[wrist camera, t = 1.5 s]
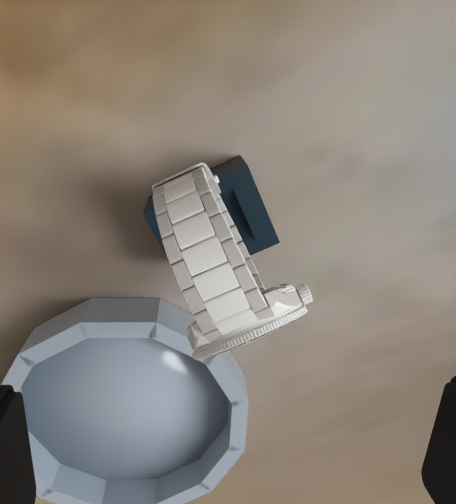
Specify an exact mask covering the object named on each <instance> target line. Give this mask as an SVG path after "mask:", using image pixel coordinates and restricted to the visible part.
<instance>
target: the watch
mask: <svg viewBox="0 0 456 504" xmlns="http://www.w3.org/2000/svg"><path fill="white" fill-rule="evenodd" d="M151 189H152V190H153V195H152V196H150V197H149V198H148V201H147V204H146V207H145V210H144V215H145V217H146V219H147V221H148V223H149V224H150V226H151V228H152V230H153V232H154V234H155V236H156V237H157V239H158V241H159V243H160V245H161V247H162V248H163V250H164V252H165V254H166V256H167V258H168V260H169V263H170V264H171V267H172V270H173V272H174V275H175V278H176V280H177V283H178V285H179V287H180V290H183V291H182V293H183V295H184V298H185V300H186V302H187V304H188V306H189V309H190V311H191V313H192V314H194V318H195V321H193V322H192V323H191V324H190V326H189V327H188V328H187V331H186V332H187V337H188V340H189V342H190V345H191V347H192V349H193V351H194V353H193V354H192V355H193V358H194V360H200V359H204V358H207V357H211V356H215V355H218V354H221V353H224V352H226V351H229V350H232V349H234V348H237V347H239V346H242V345H244V344H247V343H249V342H251V341H254V340H256V339H258V338H261V337H263V336H265V335H267V334H270V333H272V332H274V331H276V330H278V329H280V328H282V327H284V326H286V325H288V324H290V323H291V322H293V321H295V320H296V319H298V318H300V317H301V316H303V315H304V314H305V313H306V312H307V309H306V307H305V306H302V304H301V302H303V304H304V305H305V304H307V303H310V302H312V301H313V299H312V295H311V293H310V291H309V289H308V287H307V285H306V284H302V285H300V286H298V287H296V288H297V291H296V289H295V288H294V287H293V286H292V285H291V284H280V285H277V286H275V287H272V288H270V289H267V290H265V287H264V285H263V283H262V281H261V279H260V277H259V275H258V272H257V270H256V268H255V266H254V264H253V262H252V260H251V258H249V257H250V255H253V254H255V253H257V252H259V251H262V250H264V249H266V248H269V247H271V246H273V245H275V244H278V243H280V242H279V240H278V237H277V235H276V232H275V230H274V228H273V225H272V223H271V220H270V218H269V216H268V213H267V211H266V208H265V206H264V204H263V201H262V199H261V197H260V194H259V192H258V189H257V187H256V185H255V182H254V180H253V177H252V175H251V173H250V170H249V168H248V165H247V164H246V163H245V161H244V160H243V159H242V157H241V156H238V157H235V158H233V159H231V160H229V161H227V162H225V163H222V164H220V165H218V166H216V167H214V168H211V169H209V167H208V166H207V165H206V164H205V163H203V162H201V163H199V164H197V165H194V166H192V167H190V168H187V169H185V170H183V171H181V172H178V173H176V174H174V175H172V176H170V177H168V178H166V179H164V180H161V181H159V182H157V183H155V184H153V185H152V188H151ZM247 258H248V259H247ZM245 259H246V260H245ZM193 285H194V286H193Z"/></svg>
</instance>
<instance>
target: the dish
mask: <svg viewBox="0 0 456 504" xmlns="http://www.w3.org/2000/svg"><path fill="white" fill-rule="evenodd" d="M193 321H195V318H194V315H192V314H190V313H188V312H186V311H184V310H182V309H180V308H178V307H176V306H174V305H172V304H170V303H168V302H166V301H164V300H162V299H160V298H90V299H89V300H87V301H85V302H83V303H81V304H79V305H77V306H75V307H73V308H71V309H69V310H67V311H65V312H63V313H61V314H59V315H57V316H56V317H54V318H52V319H50V320H48V321H46V322H44V323H42V324H40V325H38V326H36V327H35V328H34V330H33V331H32V333H31V334H30V336H29V337H28V339H27V341H26V342H25V344H24V345H23V347H22V349H21V350H20V352H19V353H18V355H17V357H16V359H15V360H14V362H13V364H12V366H11V368H10V369H9V371H8V373H7V375H6V377H5V378H4V380H3V382H2V384H1V385H12V387H13V388H14V392H21V393H22V396H23V401H24V408H25V414H26V421H27V428H28V434H29V441H30V448H31V455H32V461H33V468H34V475H35V481H36V495H37V496H39V497H40V498H41V499H44V500H47V501H50V502H53V503H56V504H184V503H186V502H188V501H191V500H193V499H195V498H197V497H200V496H202V495H204V494H206V493H209V492H211V491H212V490H213V489H214V487H215V486H216V485H217V484H218V483H219V481H220V480H221V479H222V478H223V476H224V475H225V474H226V473H227V472H228V470H229V469H230V468H231V467H232V466H233V464H234V463H235V462H236V461H237V459H238V458H239V457H240V456H241V455H242V453H243V452H244V451H245V440H246V428H247V417H248V405H249V399H248V394H247V388H246V383H245V378H244V373H243V370H242V369H241V367H240V365H239V364H238V362H237V361H236V359H235V357H234V356H233V354H232V353H231V351H230V350H229V351H226V352H224V353H221V354H218V355H215V356H211V357H207V358H204V359H200V360H194V358H193V355H192V354H193V353H194V351H193V349H192V347H191V345H190V342H189V340H188V337H187V332H186V331H187V328H188V327H189V326H190V324H191V323H192V322H193Z"/></svg>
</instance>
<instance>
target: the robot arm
mask: <svg viewBox="0 0 456 504" xmlns="http://www.w3.org/2000/svg"><path fill="white" fill-rule="evenodd" d="M421 473H422V480H423V483H424V486H425V488H426V489H427V491H428V493H429V494H430V496H431V498H432V499H433V501H434V503H435V504H456V376H454V377H453V378H452V379H451V381H450V383H447V384H446V385H445V387H444V391H443V394H442V398H441V401H440V405H439V409H438V412H437V416H436V420H435V423H434V427H433V430H432V434H431V438H430V441H429V445H428V448H427V452H426V456H425V459H424V463H423V466H422V471H421ZM35 498H36V481H35V475H34V468H33V461H32V455H31V448H30V441H29V434H28V428H27V421H26V414H25V408H24V401H23V396H22V393H21V392H14V388H13V387H12V385H0V504H34V503H35Z"/></svg>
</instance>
